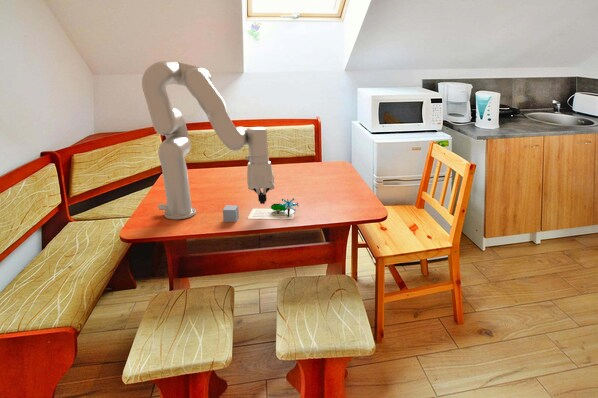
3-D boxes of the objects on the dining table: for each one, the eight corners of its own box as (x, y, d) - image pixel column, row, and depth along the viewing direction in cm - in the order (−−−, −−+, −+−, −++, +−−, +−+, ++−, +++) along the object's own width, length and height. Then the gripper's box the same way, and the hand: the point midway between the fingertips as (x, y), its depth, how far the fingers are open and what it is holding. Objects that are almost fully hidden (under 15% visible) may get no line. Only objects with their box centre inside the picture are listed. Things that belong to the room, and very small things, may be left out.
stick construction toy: (301, 204, 174) (294, 194, 168) (301, 219, 170) (294, 208, 164) (274, 210, 178) (267, 200, 172) (274, 224, 174) (266, 214, 168)
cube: (223, 221, 166) (222, 209, 164) (226, 216, 170) (225, 205, 169) (236, 221, 165) (235, 210, 164) (239, 217, 170) (238, 205, 168)
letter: (247, 218, 168) (247, 218, 168) (252, 208, 178) (252, 208, 178) (292, 219, 166) (292, 219, 166) (295, 209, 176) (295, 209, 176)
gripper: (238, 162, 162) (242, 206, 168) (276, 161, 161) (279, 205, 167) (242, 157, 169) (246, 200, 176) (279, 156, 168) (282, 199, 174)
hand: (262, 202), depth 171 cm, fingers closed
